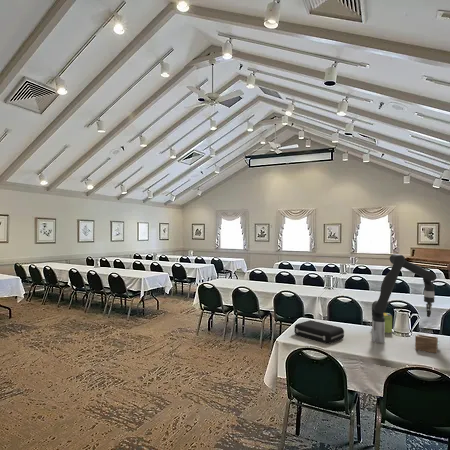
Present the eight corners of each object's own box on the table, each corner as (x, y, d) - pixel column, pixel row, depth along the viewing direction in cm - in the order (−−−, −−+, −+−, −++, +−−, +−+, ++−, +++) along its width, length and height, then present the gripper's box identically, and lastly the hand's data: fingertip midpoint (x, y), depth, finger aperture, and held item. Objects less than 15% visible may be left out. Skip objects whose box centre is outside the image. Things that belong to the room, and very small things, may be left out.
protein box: (392, 333, 318) (392, 315, 318) (374, 331, 321) (374, 314, 321) (389, 329, 328) (389, 313, 328) (371, 328, 331) (371, 312, 331)
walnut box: (436, 353, 266) (436, 339, 266) (415, 349, 274) (415, 336, 274) (437, 347, 279) (437, 334, 279) (417, 344, 287) (417, 331, 287)
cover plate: (437, 346, 283) (437, 339, 283) (418, 343, 291) (418, 336, 291) (439, 342, 295) (439, 335, 295) (420, 339, 303) (420, 332, 303)
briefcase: (349, 337, 303) (349, 326, 303) (329, 345, 282) (329, 333, 282) (313, 328, 330) (313, 317, 330) (292, 335, 309) (292, 323, 309)
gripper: (433, 298, 285) (433, 318, 285) (435, 295, 297) (434, 314, 297) (423, 296, 289) (422, 316, 289) (424, 294, 301) (424, 313, 301)
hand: (428, 315), depth 293 cm, fingers open, 8 cm apart
